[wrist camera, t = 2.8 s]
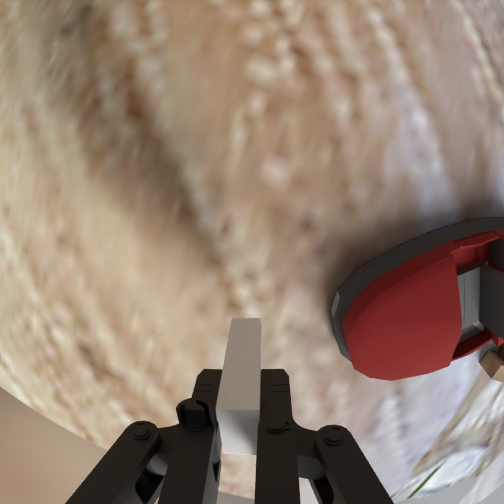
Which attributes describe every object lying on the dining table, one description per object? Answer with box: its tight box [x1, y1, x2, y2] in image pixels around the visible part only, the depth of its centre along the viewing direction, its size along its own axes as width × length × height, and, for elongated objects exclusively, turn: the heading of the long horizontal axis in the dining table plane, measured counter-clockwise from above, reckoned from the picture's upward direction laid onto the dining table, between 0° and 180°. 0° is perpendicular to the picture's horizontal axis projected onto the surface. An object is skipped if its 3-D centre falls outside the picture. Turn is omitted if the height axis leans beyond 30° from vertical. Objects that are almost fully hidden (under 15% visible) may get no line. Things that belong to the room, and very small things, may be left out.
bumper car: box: [331, 217, 504, 381], centre depth 16 cm, size 10×20×10 cm, turn 108°
